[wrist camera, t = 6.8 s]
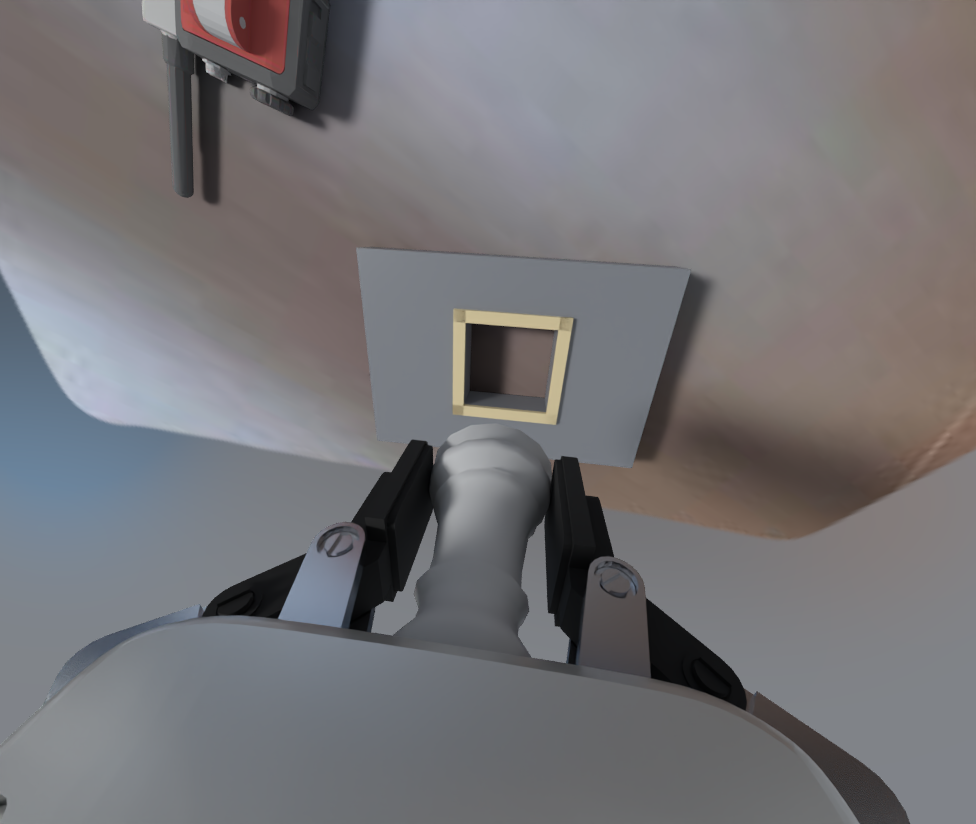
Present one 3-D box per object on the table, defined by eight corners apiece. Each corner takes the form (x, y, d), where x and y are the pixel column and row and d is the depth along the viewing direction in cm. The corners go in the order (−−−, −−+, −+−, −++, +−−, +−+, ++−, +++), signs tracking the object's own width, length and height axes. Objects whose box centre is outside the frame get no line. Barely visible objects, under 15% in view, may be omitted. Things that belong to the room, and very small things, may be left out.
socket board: (675, 266, 22) (693, 269, 19) (623, 450, 28) (632, 470, 26) (372, 247, 23) (354, 247, 21) (388, 425, 30) (375, 442, 27)
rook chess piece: (576, 477, 13) (629, 764, 6) (488, 528, 15) (448, 799, 8) (499, 392, 12) (449, 624, 5) (413, 458, 13) (281, 703, 6)
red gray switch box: (168, -330, 14) (185, 192, 24) (34, -540, 11) (116, 183, 20) (365, -223, 15) (308, 244, 24) (308, -384, 11) (265, 246, 20)
